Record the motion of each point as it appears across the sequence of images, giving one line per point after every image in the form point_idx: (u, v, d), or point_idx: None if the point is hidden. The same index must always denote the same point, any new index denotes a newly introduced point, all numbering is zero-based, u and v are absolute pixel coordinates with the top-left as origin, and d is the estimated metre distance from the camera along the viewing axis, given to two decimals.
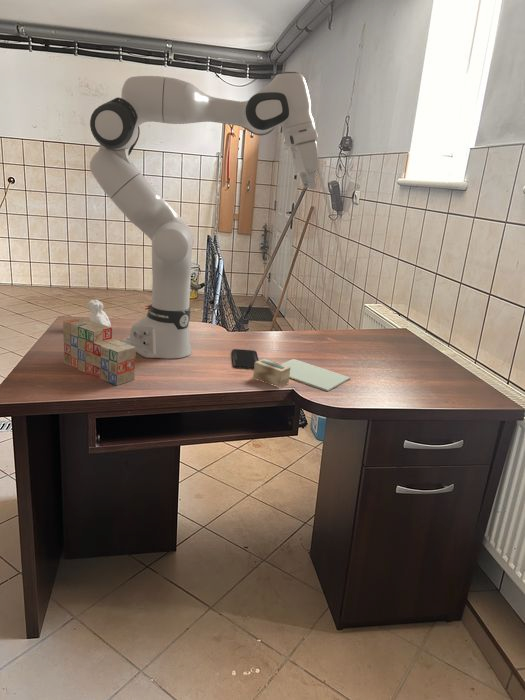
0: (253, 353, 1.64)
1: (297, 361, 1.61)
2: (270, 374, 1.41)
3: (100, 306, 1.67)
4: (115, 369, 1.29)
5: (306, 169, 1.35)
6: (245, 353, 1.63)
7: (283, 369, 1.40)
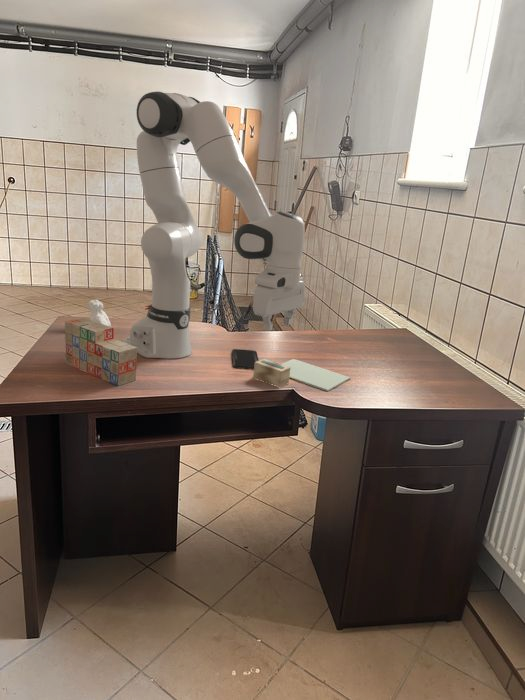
0: (253, 353, 1.64)
1: (297, 361, 1.61)
2: (270, 374, 1.41)
3: (100, 306, 1.67)
4: (116, 369, 1.29)
5: None
6: (245, 352, 1.63)
7: (283, 369, 1.40)
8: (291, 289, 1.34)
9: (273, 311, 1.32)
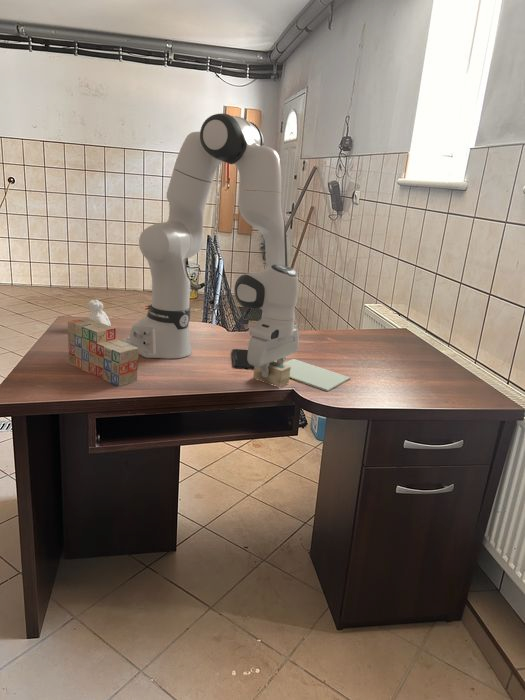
0: None
1: (297, 361, 1.61)
2: (270, 373, 1.41)
3: (100, 306, 1.67)
4: (117, 370, 1.29)
5: (248, 361, 1.35)
6: (245, 352, 1.63)
7: (283, 368, 1.40)
8: (284, 339, 1.38)
9: (267, 361, 1.36)
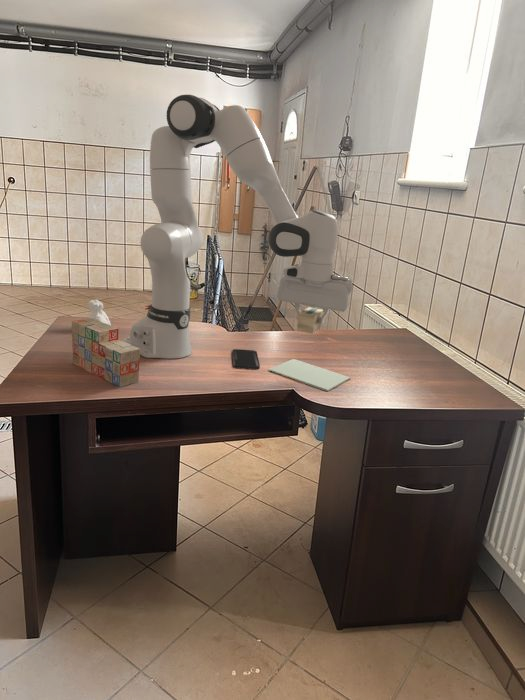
0: (253, 352, 1.64)
1: (297, 361, 1.61)
2: None
3: (100, 306, 1.67)
4: (118, 370, 1.28)
5: None
6: (245, 352, 1.63)
7: (304, 313, 1.41)
8: (310, 284, 1.39)
9: (291, 299, 1.44)
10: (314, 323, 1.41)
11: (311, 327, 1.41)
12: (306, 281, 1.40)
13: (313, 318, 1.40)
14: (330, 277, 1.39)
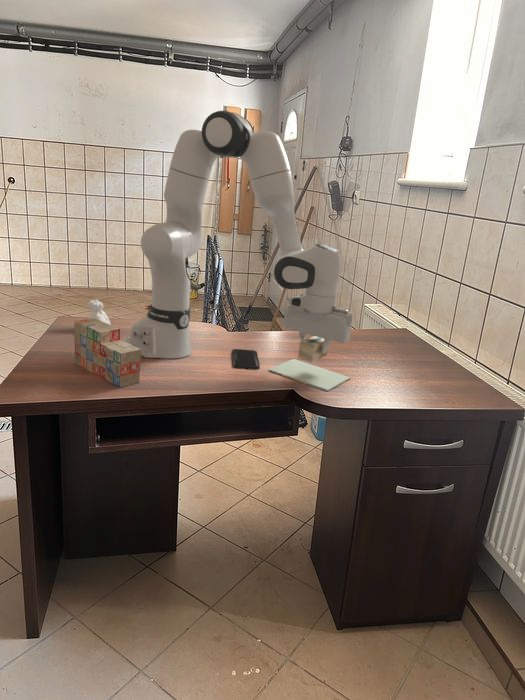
0: (253, 353, 1.64)
1: (297, 361, 1.61)
2: None
3: (100, 306, 1.67)
4: (119, 371, 1.28)
5: None
6: (245, 352, 1.63)
7: (305, 342, 1.46)
8: (312, 314, 1.44)
9: (295, 327, 1.49)
10: (314, 352, 1.45)
11: (311, 356, 1.45)
12: (309, 311, 1.45)
13: (312, 347, 1.44)
14: (331, 309, 1.42)
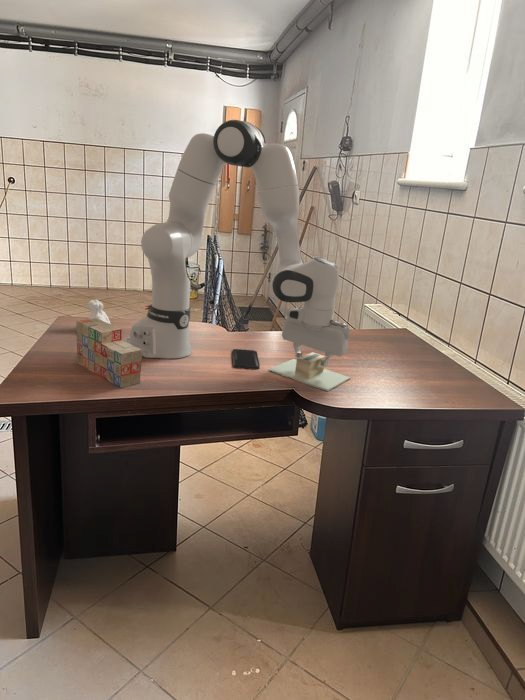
0: (253, 353, 1.64)
1: None
2: None
3: (100, 306, 1.67)
4: (119, 371, 1.28)
5: None
6: (245, 352, 1.63)
7: (302, 359, 1.47)
8: (310, 327, 1.45)
9: (293, 339, 1.51)
10: (310, 369, 1.47)
11: (307, 373, 1.47)
12: (306, 324, 1.46)
13: (309, 365, 1.46)
14: (329, 322, 1.44)
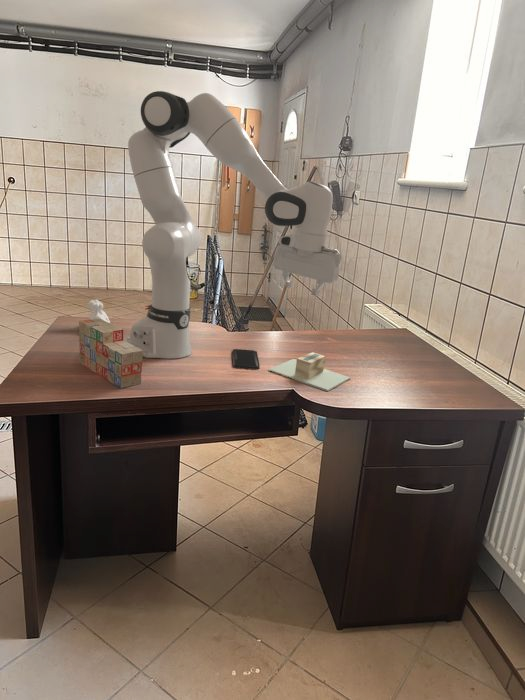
0: (253, 353, 1.64)
1: None
2: None
3: (100, 306, 1.67)
4: (120, 371, 1.28)
5: None
6: (245, 352, 1.63)
7: (302, 359, 1.47)
8: (301, 253, 1.43)
9: (284, 267, 1.49)
10: (310, 369, 1.47)
11: (307, 373, 1.47)
12: (298, 250, 1.44)
13: (309, 365, 1.46)
14: (320, 248, 1.42)
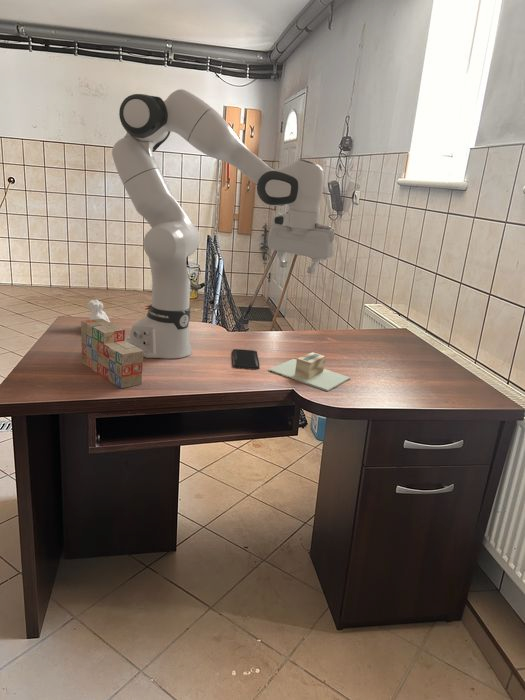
0: (253, 353, 1.64)
1: None
2: None
3: (100, 306, 1.67)
4: (120, 372, 1.28)
5: None
6: (245, 353, 1.63)
7: (302, 359, 1.47)
8: (295, 231, 1.44)
9: (278, 247, 1.49)
10: (310, 369, 1.47)
11: (307, 373, 1.47)
12: (291, 229, 1.45)
13: (309, 365, 1.46)
14: (314, 225, 1.42)
